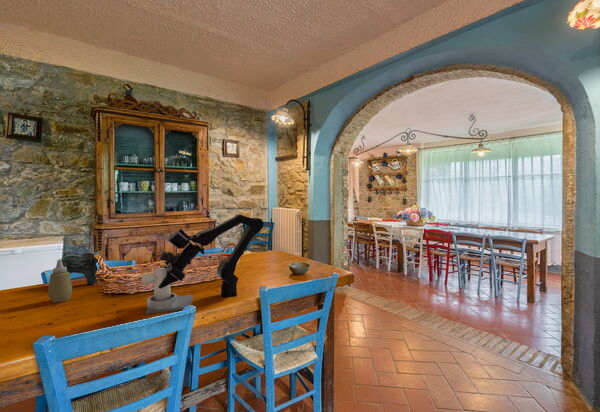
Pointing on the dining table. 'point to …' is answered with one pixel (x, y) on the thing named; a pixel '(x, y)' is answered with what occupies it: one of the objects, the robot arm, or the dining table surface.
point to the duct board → (176, 307)
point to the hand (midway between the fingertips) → (158, 285)
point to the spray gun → (82, 264)
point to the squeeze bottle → (60, 284)
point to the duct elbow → (157, 279)
